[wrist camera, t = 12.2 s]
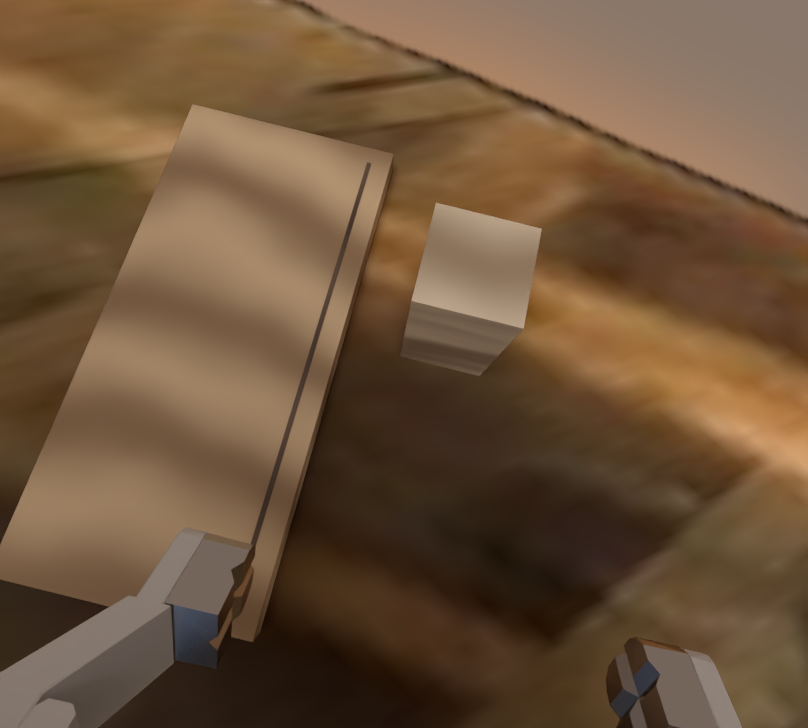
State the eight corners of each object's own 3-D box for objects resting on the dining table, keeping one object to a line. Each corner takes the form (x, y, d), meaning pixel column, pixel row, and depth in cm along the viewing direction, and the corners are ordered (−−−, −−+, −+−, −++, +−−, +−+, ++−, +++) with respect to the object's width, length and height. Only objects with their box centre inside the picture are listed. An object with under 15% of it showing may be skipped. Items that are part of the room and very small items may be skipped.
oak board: (260, 632, 23) (252, 642, 21) (11, 570, 23) (-15, 576, 21) (392, 170, 29) (393, 153, 28) (201, 123, 29) (192, 103, 28)
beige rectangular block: (479, 376, 27) (523, 328, 19) (399, 356, 27) (411, 300, 19) (497, 289, 28) (544, 212, 20) (421, 270, 28) (440, 186, 20)
